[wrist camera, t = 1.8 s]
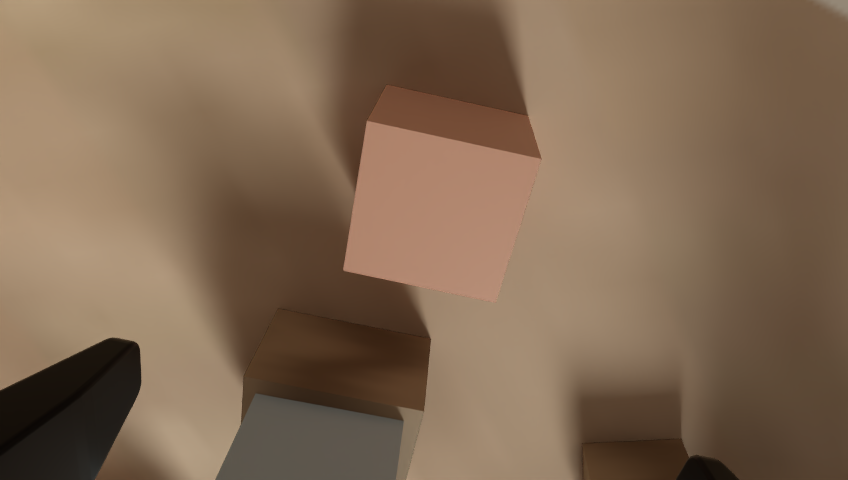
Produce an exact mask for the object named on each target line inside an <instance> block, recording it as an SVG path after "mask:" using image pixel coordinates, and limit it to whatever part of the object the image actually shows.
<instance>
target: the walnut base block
mask: <svg viewBox="0 0 848 480" xmlns="http://www.w3.org/2000/svg"><path fill="white" fill-rule="evenodd" d="M430 343H431V339H429V338H424V337H419V336H414V335H409V334H404V333H399V332H394V331H389V330H384V329H379V328H374V327H369V326H364V325H359V324H354V323H349V322H344V321H339V320H333V319H328V318H323V317H318V316H313V315H308V314H303V313H298V312H293V311H288V310H283V309H278V310H277V312H276V314H275V316H274V318H273V320H272V322H271V324H270V326H269V328H268V329H267V331H266V333H265V335H264V337H263V339H262V341H261V343H260V345H259V347H258V349H257V351H256V353H255V355H254V357H253V359H252V361H251V363H250V365H249V367H248V369H247V371H246V373H245V375H244V379H243V398H242V416H241V424H242V421H243V419H244V417H245V415H246V413H247V411H248V408H249V406H250V404H251V402H252V400H253V398H254V396H255V393H256V394H261V395H267V396H272V397H278V398H283V399H288V400H294V401H299V402H305V403H310V404H315V405H321V406H326V407H331V408H337V409H342V410H348V411H353V412H358V413H364V414H369V415H375V416H380V417H385V418H391V419H396V420H402V421H404V424H403V431H402V438H401V446H400V453H399V460H398V468H397V475H396V480H406V478H407V474H408V470H409V467H410V463H411V459H412V455H413V451H414V448H415V444H416V440H417V436H418V432H419V429H420V425H421V421H422V417H423V413H424V406H425V396H426V385H427V375H428V364H429V354H430Z"/></svg>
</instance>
